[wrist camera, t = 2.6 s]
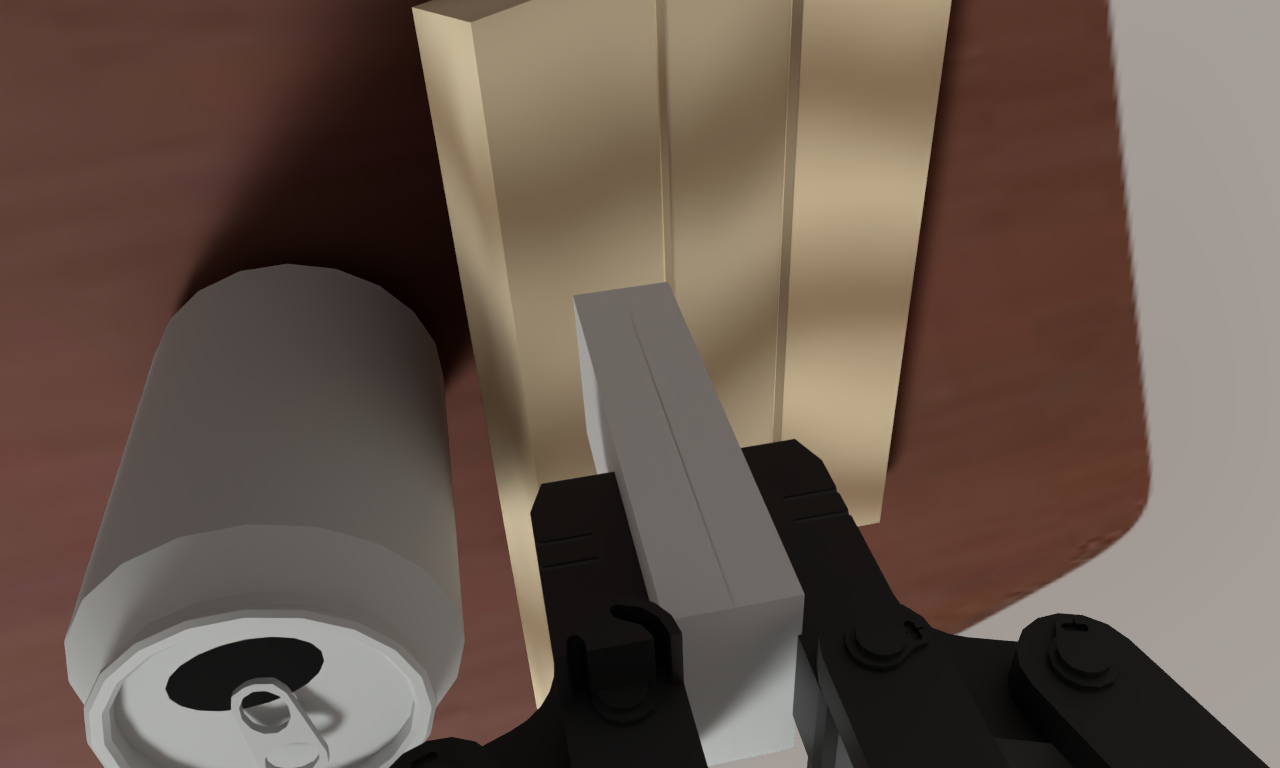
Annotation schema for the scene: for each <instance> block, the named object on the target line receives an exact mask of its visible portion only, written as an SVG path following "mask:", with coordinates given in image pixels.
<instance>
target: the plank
mask: <svg viewBox="0 0 1280 768" xmlns="http://www.w3.org/2000/svg"><path fill="white" fill-rule="evenodd" d="M412 11H413V16H414V22H415V28H416V33H417V39H418V44H419V50H420V56H421V61H422V67H423V72H424V78H425V84H426V89H427V95H428V100H429V106H430V112H431V117H432V123H433V128H434V134H435V140H436V145H437V151H438V156H439V162H440V167H441V173H442V179H443V184H444V190H445V195H446V201H447V207H448V212H449V218H450V223H451V229H452V235H453V240H454V246H455V251H456V257H457V263H458V268H459V274H460V279H461V285H462V291H463V296H464V302H465V307H466V313H467V319H468V324H469V330H470V335H471V341H472V347H473V352H474V358H475V363H476V369H477V375H478V380H479V386H480V391H481V397H482V403H483V408H484V414H485V419H486V425H487V431H488V436H489V442H490V447H491V453H492V458H493V464H494V470H495V475H496V481H497V486H498V492H499V498H500V503H501V509H502V514H503V520H504V526H505V531H506V537H507V542H508V548H509V554H510V559H511V565H512V570H513V576H514V582H515V587H516V593H517V598H518V604H519V610H520V615H521V621H522V626H523V632H524V638H525V643H526V649H527V654H528V660H529V666H530V671H531V677H532V682H533V688H534V694H535V699H536V705H537V709H539V708H540V707H541V705H542V703H543V702H544V700H545V698H546V697H547V695H548V693H549V692H550V688H551V685H552V681H553V678H554V662H553V655H552V649H551V643H550V637H549V630H548V624H547V618H546V612H545V605H544V599H543V593H542V587H541V580H540V574H539V567H538V561H537V555H536V548H535V542H534V535H533V529H532V522H531V516H530V512H531V509H532V506H533V504H534V501H535V499H536V496H537V493H538V491H539V488H540V486H541V484H543V483H549V482H555V481H561V480H567V479H573V478H579V477H585V476H591V475H597V471H596V467H595V463H594V459H593V455H592V451H591V447H590V443H589V439H588V435H587V429H586V419H585V409H584V399H583V390H582V380H581V370H580V361H579V351H578V341H577V331H576V322H575V312H574V302H573V295H579V294H586V293H593V292H600V291H607V290H614V289H621V288H628V287H634V286H641V285H648V284H655V283H662V282H668V283H669V285H670V288H671V290H672V292H673V295H674V297H675V299H676V301H677V304H678V306H679V308H680V311H681V313H682V315H683V317H684V320H685V322H686V324H687V327H688V329H689V331H690V334H691V336H692V338H693V340H694V343H695V345H696V347H697V350H698V352H699V354H700V356H701V359H702V361H703V363H704V366H705V368H706V370H707V372H708V375H709V377H710V379H711V382H712V384H713V386H714V388H715V391H716V393H717V395H718V398H719V400H720V402H721V404H722V407H723V409H724V411H725V414H726V416H727V418H728V420H729V423H730V425H731V427H732V430H733V432H734V434H735V436H736V439H737V441H738V443H739V446H740V448H743V447H749V446H755V445H761V444H767V443H772V428H773V405H774V383H775V360H776V338H777V315H778V293H779V270H780V248H781V225H782V203H783V180H784V157H785V135H786V112H787V90H788V67H789V45H790V22H791V0H432V1H429V2H426V3H423V4H420V5H417V6H414V7H412Z"/></svg>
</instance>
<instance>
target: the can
mask: <svg viewBox="0 0 1280 768" xmlns="http://www.w3.org/2000/svg"><path fill="white" fill-rule="evenodd" d="M464 642H465V640H464V627H463V614H462V602H461V589H460V577H459V564H458V552H457V539H456V526H455V514H454V501H453V489H452V476H451V463H450V451H449V438H448V426H447V413H446V400H445V388H444V377H443V373H442V368H441V364H440V360H439V356H438V352H437V347H436V343H435V342H434V340H433V339H432V338H431V336H430V335H429V333H428V332H427V330H426V329H425V327H424V326H423V324H422V323H421V321H420V320H419V319H418V317H417V316H416V314H415V313H414V311H412V310H411V309H410V308H408V307H407V306H406V305H404V304H403V303H402V302H400V301H399V300H398V299H396V298H395V297H394V296H392V295H391V294H390V293H389V292H387V291H386V290H385V289H383V288H382V287H381V286H379V285H376V284H374V283H371V282H369V281H366V280H363V279H361V278H358V277H356V276H353V275H351V274H348V273H345V272H343V271H340V270H338V269H332V268H323V267H314V266H304V265H295V264H282V265H276V266H270V267H264V268H257V269H251V270H245V271H239V272H237V273H235V274H233V275H231V276H229V277H227V278H225V279H222V280H220V281H218V282H216V283H214V284H212V285H210V286H208V287H206V288H204V289H202V290H200V291H198V292H197V293H196V294H195V295H194V296H193V297H192V298H191V299H190V300H189V301H188V302H187V303H186V304H185V305H184V306H183V307H182V308H181V309H180V310H179V311H178V312H177V313H176V314H175V315H174V316H173V317H172V318H171V319H170V320H169V322H168V324H167V326H166V329H165V331H164V334H163V336H162V338H161V341H160V343H159V346H158V348H157V351H156V353H155V355H154V359H153V362H152V365H151V368H150V371H149V374H148V378H147V381H146V384H145V387H144V390H143V393H142V397H141V400H140V403H139V406H138V409H137V412H136V416H135V419H134V422H133V425H132V428H131V431H130V435H129V438H128V441H127V444H126V447H125V450H124V454H123V457H122V460H121V463H120V466H119V469H118V473H117V476H116V479H115V482H114V485H113V488H112V492H111V495H110V498H109V501H108V504H107V507H106V511H105V514H104V517H103V520H102V523H101V526H100V530H99V533H98V536H97V539H96V542H95V545H94V549H93V552H92V555H91V558H90V561H89V564H88V568H87V571H86V574H85V577H84V580H83V583H82V587H81V590H80V593H79V596H78V599H77V602H76V606H75V609H74V612H73V615H72V618H71V621H70V625H69V628H68V631H67V634H66V637H65V640H64V643H65V652H66V661H67V670H68V679H69V683H70V684H71V686H72V687H73V689H74V690H75V692H76V693H77V695H78V696H79V698H80V699H81V701H82V702H83V704H84V705H85V706H84V717H85V727H86V737H87V743H88V745H89V746H90V747H91V749H92V750H93V752H94V753H95V754H96V756H97V757H98V759H99V760H100V762H101V763H102V764H103V766H104V767H105V768H389V767H390V766H391V765H392V764H393V763H394V762H395V761H396V760H397V759H398V758H399V757H400V756H401V755H402V754H403V753H405V752H407V751H409V750H411V749H413V748H415V747H416V746H418V745H420V744H422V743H424V742H425V741H426V739H427V738H428V737H429V735H430V734H431V729H432V724H433V719H434V714H435V709H436V707H437V705H438V704H439V703H440V701H441V700H442V698H443V697H444V696H445V694H446V693H447V691H448V690H449V688H450V687H451V686H452V684H453V683H454V681H455V680H456V679H457V675H458V671H459V666H460V661H461V656H462V652H463V647H464Z"/></svg>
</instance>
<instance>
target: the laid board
mask: <svg viewBox="0 0 1280 768" xmlns="http://www.w3.org/2000/svg"><path fill="white" fill-rule="evenodd" d="M951 1H952V0H791V22H790V45H789V67H788V90H787V112H786V135H785V157H784V180H783V203H782V225H781V248H780V270H779V293H778V315H777V338H776V360H775V383H774V405H773V428H772V443H773V442H779V441H785V440H791V439H796V440H797V441H798V442H800V443H801V444H802V445H804V446H805V447H806V448H807V449H809V450H810V451H811V452H812V453H814V454H815V455H816V456H817V457H819V458H820V459H821V460H822V461H823V463H824V465H825V467H826V468H827V470H828V472H829V474H830V476H831V478H832V480H833V482H834V483H835V485H836V487H837V492H838V493H840V495H841V497H842V499H843V500H844V502H845V504H846V506H847V508H848V512H849V515H852V517H853V519H854V521H855V523H856V525H857V526H863V525H868V524H874V523H879V522H880V515H881V508H882V501H883V493H884V486H885V479H886V472H887V464H888V457H889V450H890V443H891V435H892V428H893V421H894V414H895V407H896V399H897V392H898V385H899V378H900V370H901V363H902V356H903V349H904V341H905V334H906V327H907V320H908V312H909V305H910V298H911V291H912V283H913V276H914V269H915V262H916V255H917V247H918V240H919V233H920V226H921V218H922V211H923V204H924V197H925V189H926V182H927V175H928V168H929V160H930V153H931V146H932V139H933V132H934V124H935V117H936V110H937V103H938V95H939V88H940V81H941V74H942V66H943V59H944V52H945V45H946V37H947V30H948V23H949V16H950V8H951Z"/></svg>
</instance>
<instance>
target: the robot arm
mask: <svg viewBox="0 0 1280 768" xmlns="http://www.w3.org/2000/svg"><path fill="white" fill-rule="evenodd" d="M573 302H574V312H575V322H576V331H577V341H578V351H579V361H580V370H581V380H582V390H583V399H584V409H585V419H586V429H587V435H588V439H589V443H590V447H591V451H592V455H593V459H594V463H595V467H596V471H597V475H591V476H585V477H579V478H573V479H567V480H561V481H555V482H549V483H543V484H541V486H540V488H539V491H538V493H537V496H536V499H535V501H534V504H533V506H532V509H531V512H530V516H531V522H532V529H533V535H534V542H535V548H536V555H537V561H538V567H539V574H540V580H541V587H542V593H543V599H544V605H545V612H546V618H547V624H548V630H549V637H550V643H551V649H552V655H553V662H554V678H553V681H552V685H551V688H550V692H549V693H548V695H547V697H546V698H545V700H544V702H543V703H542V705H541V707H540V708H539V709H538V710H537V711H536V712H535V713H534V714H533V715H532V716H531V717H530V718H529V719H528V720H527V721H525V722H524V723H522V724H521V725H519V726H518V727H516V728H515V729H513V730H512V731H510V732H508V733H506V734H504V735H503V736H501V737H499V738H497V739H495V740H493V741H491V742H489V743H487V744H486V745H484V746H481V745H480V744H478V743H477V742H475V741H470V740H464V739H459V738H454V737H449V738H443V739H437V740H431V741H426V742H424V743H422V744H420V745H418V746H416V747H415V748H413V749H411V750H409V751H407V752H405V753H403V754H402V755H401V756H400V757H399V758H398V759H397V760H396V761H395V762H394V763H393V764H392V765H391V766H390V767H389V768H708V766H711V765H716V764H721V763H726V762H731V761H735V760H740V759H745V758H750V757H755V756H759V755H764V754H769V753H773V752H778V751H783V750H788V749H792V748H794V736H795V723H796V725H797V728H798V731H799V733H800V736H801V739H802V741H803V744H804V747H805V750H806V752H807V755H808V764H807V768H1269V767H1268V766H1267V765H1266V764H1265V763H1264V762H1263V761H1262V760H1261V759H1260V758H1258V757H1257V756H1256V755H1255V754H1254V753H1253V752H1252V751H1251V750H1250V749H1249V748H1247V747H1246V746H1245V745H1244V744H1243V743H1242V742H1241V741H1240V740H1239V739H1238V738H1237V737H1235V736H1234V735H1233V734H1232V733H1231V732H1230V731H1229V730H1228V729H1227V728H1226V727H1225V726H1223V725H1222V724H1221V723H1220V722H1219V721H1218V720H1217V719H1216V718H1215V717H1214V716H1212V715H1211V714H1210V713H1209V712H1208V711H1207V710H1206V709H1205V708H1204V707H1203V706H1202V705H1200V704H1199V703H1198V702H1197V701H1196V700H1195V699H1194V698H1193V697H1192V696H1190V694H1188V693H1187V692H1186V691H1185V690H1184V689H1183V688H1182V687H1181V686H1180V685H1178V684H1177V683H1176V682H1175V681H1174V680H1173V679H1172V678H1171V677H1170V676H1169V675H1168V674H1167V673H1165V672H1164V671H1163V670H1162V669H1161V668H1160V667H1159V666H1158V665H1157V664H1156V663H1154V662H1153V661H1152V660H1151V659H1150V658H1149V657H1148V656H1147V655H1146V654H1145V653H1144V652H1142V651H1141V650H1140V649H1139V648H1138V647H1137V646H1136V645H1135V644H1134V643H1132V641H1130V640H1129V639H1128V638H1127V637H1125V636H1123V635H1122V634H1121V633H1119V632H1118V631H1116V630H1115V629H1114V628H1112V627H1111V626H1109V625H1108V624H1105V623H1103V622H1100V621H1097V620H1094V619H1092V618H1089V617H1086V616H1083V615H1073V614H1060V613H1057V614H1053V615H1049V616H1045V617H1041V618H1037V619H1036V620H1035V621H1033V622H1032V623H1031V624H1029V625H1028V626H1027V627H1026V628H1024V629H1023V630H1022V633H1021V635H1020V638H1019V641H1018V642H1015V641H1003V640H991V639H981V638H969V637H963V636H957V635H952V634H948V633H945V632H942V631H940V630H937V629H934V628H932V627H931V626H930V625H929V624H928V623H927V621H926V620H925V619H924V618H923V617H922V616H920V615H919V614H917V613H916V612H914V611H912V610H911V609H909V608H907V607H906V606H904V605H902V604H900V603H899V601H898V600H897V599H896V597H895V596H894V594H893V593H892V591H891V589H890V587H889V585H888V583H887V581H886V579H885V578H884V576H883V574H882V572H881V570H880V568H879V566H878V564H877V563H876V561H875V559H874V557H873V555H872V553H871V551H870V549H869V547H868V546H867V544H866V542H865V540H864V538H863V536H862V534H861V532H860V531H859V529H858V527H857V525H856V523H855V521H854V519H853V517H852V515H849V512H848V508H847V506H846V504H845V502H844V500H843V499H842V497H841V495H840V493H838V492H837V487H836V485H835V483H834V482H833V480H832V478H831V476H830V474H829V472H828V470H827V468H826V467H825V465H824V463H823V461H822V460H821V459H820V458H819V457H817V456H816V455H815V454H814V453H812V452H811V451H810V450H809V449H807V448H806V447H805V446H804V445H802V444H801V443H800V442H798V441H797V440H796V439H791V440H785V441H779V442H773V443H767V444H761V445H755V446H749V447H743V448H740V446H739V443H738V441H737V439H736V436H735V434H734V432H733V430H732V427H731V425H730V423H729V420H728V418H727V416H726V414H725V411H724V409H723V407H722V404H721V402H720V400H719V398H718V395H717V393H716V391H715V388H714V386H713V384H712V382H711V379H710V377H709V375H708V372H707V370H706V368H705V366H704V363H703V361H702V359H701V356H700V354H699V352H698V350H697V347H696V345H695V343H694V340H693V338H692V336H691V334H690V331H689V329H688V327H687V324H686V322H685V320H684V317H683V315H682V313H681V311H680V308H679V306H678V304H677V301H676V299H675V297H674V295H673V292H672V290H671V288H670V285H669V283H668V282H662V283H655V284H648V285H641V286H634V287H628V288H621V289H614V290H607V291H600V292H593V293H586V294H579V295H573Z"/></svg>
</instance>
